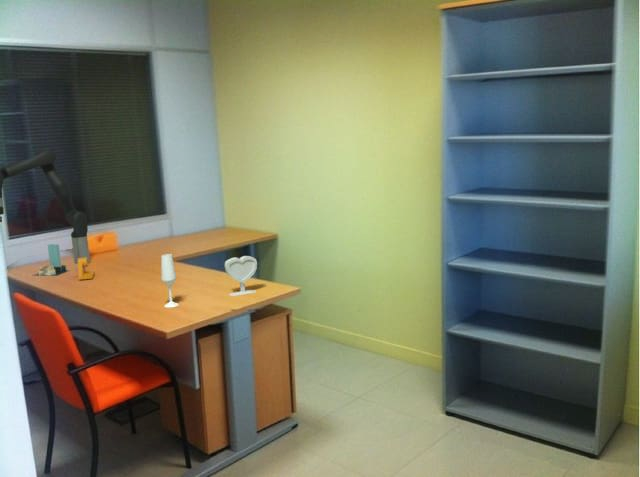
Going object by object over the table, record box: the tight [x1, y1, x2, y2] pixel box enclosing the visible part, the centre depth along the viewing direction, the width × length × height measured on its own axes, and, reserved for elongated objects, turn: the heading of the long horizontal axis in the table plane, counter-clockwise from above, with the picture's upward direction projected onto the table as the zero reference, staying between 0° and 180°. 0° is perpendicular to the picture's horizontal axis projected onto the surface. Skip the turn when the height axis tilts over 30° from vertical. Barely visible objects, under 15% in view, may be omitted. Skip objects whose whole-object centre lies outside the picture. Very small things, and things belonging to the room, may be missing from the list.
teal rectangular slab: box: [47, 243, 62, 267], centre depth 363 cm, size 6×2×16 cm, turn 76°
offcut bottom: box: [38, 270, 56, 275], centre depth 357 cm, size 8×4×2 cm, turn 76°
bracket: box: [77, 257, 96, 281], centre depth 348 cm, size 11×7×12 cm, turn 13°
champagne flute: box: [160, 253, 180, 308], centre depth 285 cm, size 7×7×24 cm
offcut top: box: [38, 264, 54, 271], centre depth 356 cm, size 7×4×2 cm, turn 80°
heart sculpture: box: [224, 255, 258, 297], centre depth 302 cm, size 16×5×18 cm, turn 117°
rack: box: [31, 264, 71, 277], centre depth 360 cm, size 16×14×4 cm
